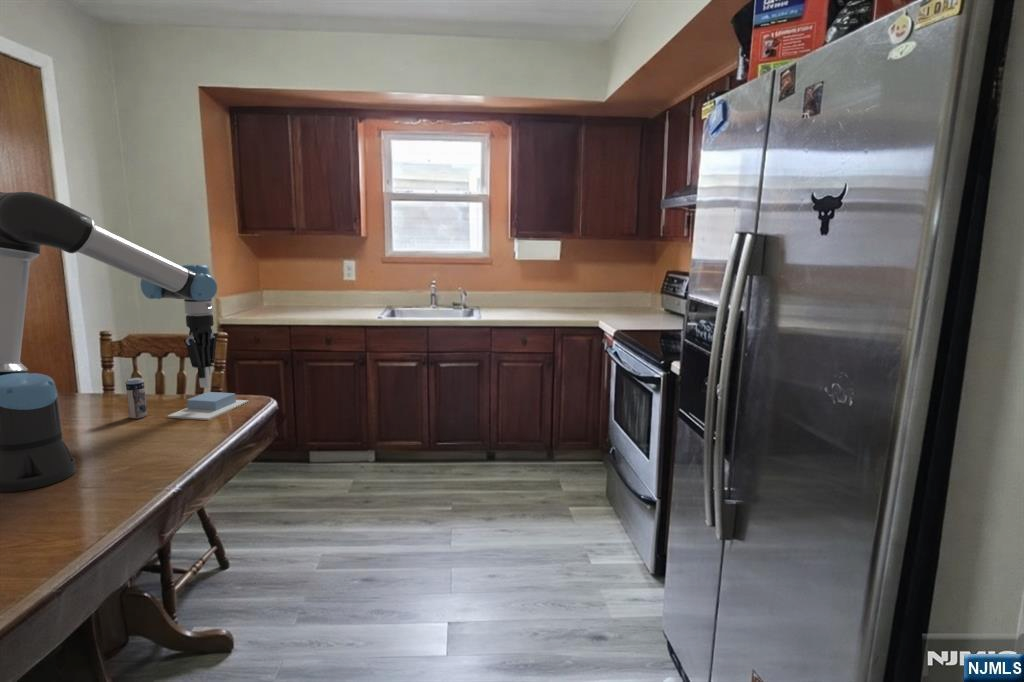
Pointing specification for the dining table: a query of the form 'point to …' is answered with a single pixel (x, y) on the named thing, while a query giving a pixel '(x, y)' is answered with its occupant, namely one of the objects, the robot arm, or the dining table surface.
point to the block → (211, 401)
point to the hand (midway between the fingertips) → (205, 386)
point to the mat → (205, 412)
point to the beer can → (136, 398)
